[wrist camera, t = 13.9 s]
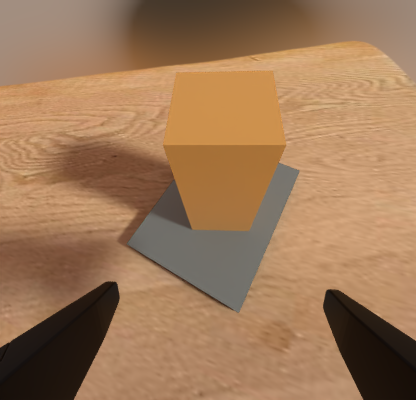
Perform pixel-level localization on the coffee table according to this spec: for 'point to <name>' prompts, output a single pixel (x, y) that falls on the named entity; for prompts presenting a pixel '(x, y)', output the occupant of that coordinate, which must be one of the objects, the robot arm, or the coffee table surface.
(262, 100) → the tall amber pillar
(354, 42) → the coffee table surface
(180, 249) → the post board
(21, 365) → the robot arm
